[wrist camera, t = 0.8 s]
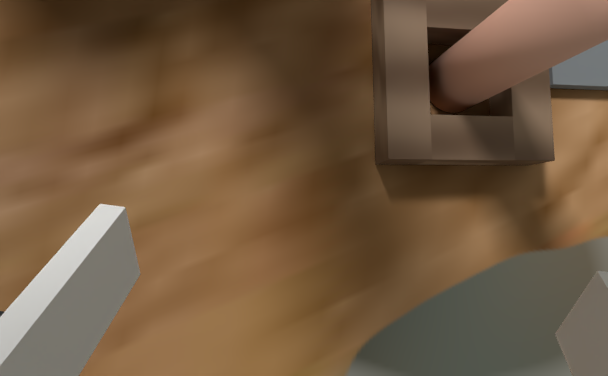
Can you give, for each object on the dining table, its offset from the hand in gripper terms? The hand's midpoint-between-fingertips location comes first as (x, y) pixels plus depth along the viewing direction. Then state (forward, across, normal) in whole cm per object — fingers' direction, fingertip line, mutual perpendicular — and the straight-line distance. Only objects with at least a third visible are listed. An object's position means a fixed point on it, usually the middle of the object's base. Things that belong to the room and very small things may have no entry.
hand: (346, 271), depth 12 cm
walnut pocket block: (+27, +8, -4) cm, 29 cm away
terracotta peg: (+27, +8, -4) cm, 29 cm away
